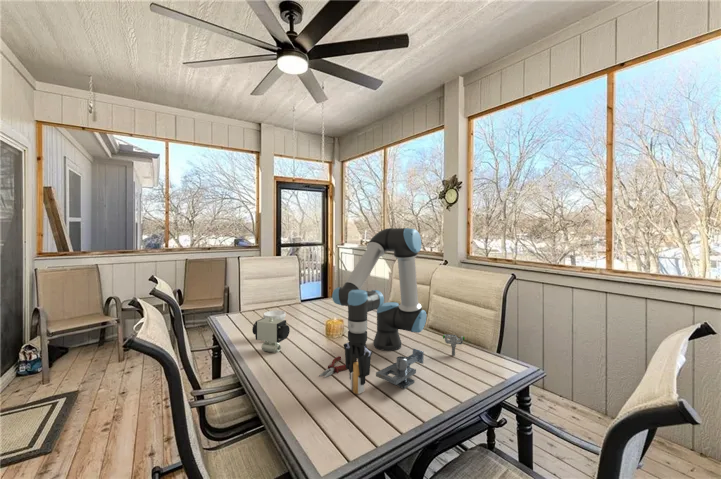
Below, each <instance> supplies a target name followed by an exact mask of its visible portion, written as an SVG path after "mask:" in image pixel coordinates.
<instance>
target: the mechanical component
mask: <svg viewBox="0 0 721 479" xmlns="http://www.w3.org/2000/svg"><path fill="white" fill-rule="evenodd" d="M442 339H444V342H445V343H446V344H450V347H451V356H452V357H455V356H456V348H457V345H459V346H460V345H463V343H464V341H465V336H463V335H461V336H460V338H459V337H458V336H457V335H456V334H446V333H444V335H442Z"/></svg>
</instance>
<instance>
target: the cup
mask: <svg viewBox="0 0 721 479" xmlns="http://www.w3.org/2000/svg"><path fill="white" fill-rule="evenodd" d="M286 313H287V312H286V311H284V310H279V309H278V310H277V309H275V310H268V311H265V312H264V313H263V314H262V315H263V316H262V317H263V318H270V317H272V319H280V320H285V318H286V315H287V314H286Z"/></svg>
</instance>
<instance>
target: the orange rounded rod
mask: <svg viewBox="0 0 721 479" xmlns="http://www.w3.org/2000/svg"><path fill="white" fill-rule="evenodd" d="M359 375H360V374H359V365H358V361H357V362H354V363H353V390H352V393H353V394H357V395H358V394H359V393H358V376H359ZM359 395H360V394H359Z"/></svg>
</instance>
